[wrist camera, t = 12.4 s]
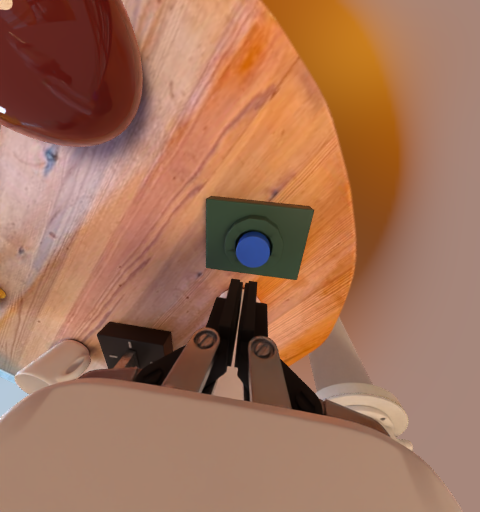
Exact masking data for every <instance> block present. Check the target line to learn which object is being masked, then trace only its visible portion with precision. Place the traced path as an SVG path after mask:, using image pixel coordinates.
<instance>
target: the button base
mask: <svg viewBox="0 0 480 512" xmlns="http://www.w3.org/2000/svg"><path fill="white" fill-rule="evenodd" d="M313 213H314V210H313V209H312V208H311V207H310V206H302V205H292V204H282V203H273V202H263V201H254V200H244V199H235V198H225V197H215V196H211V197H209V198H207V199H206V268H211V269H218V270H225V271H233V272H240V273H248V274H255V275H263V276H270V277H278V278H285V279H293V280H297V277H298V273H299V269H300V265H301V261H302V257H303V253H304V249H305V245H306V241H307V237H308V233H309V229H310V225H311V221H312V217H313ZM252 231H255V232H260V233H262V234H263V235H265V236H266V237H267V239H268V241H269V244H270V256H269V259H268V260H267V262H266V263H265V264H263V265H262V266H259V267H254V268H252V267H247V266H245V265H243V264H242V263H241V262H240V261H239V260H238V258H237V255H236V248H237V245H238V242H239V240H240V238H241V237H242V236H243V235H244V234H245V233H248V232H252Z"/></svg>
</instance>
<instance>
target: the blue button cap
mask: <svg viewBox="0 0 480 512" xmlns="http://www.w3.org/2000/svg"><path fill="white" fill-rule="evenodd" d="M236 255H237V258H238V260H239V261H240V262H241V263H242V264H243V265H245V266H247V267H252V268H254V267H259V266H262V265H263V264H265V263H266V262H267V260H268V259H269V256H270V244H269V241H268V239H267V237H266V236H265V235H263V234H262V233H260V232H255V231H252V232H248V233H245V234H244V235H243V236H242V237H241V238H240V240H239V242H238V245H237V248H236Z"/></svg>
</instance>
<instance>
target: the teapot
mask: <svg viewBox="0 0 480 512" xmlns="http://www.w3.org/2000/svg"><path fill="white" fill-rule="evenodd" d="M5 297H6V294H5V292H4V291H3V290H2V289H0V298H5Z"/></svg>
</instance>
